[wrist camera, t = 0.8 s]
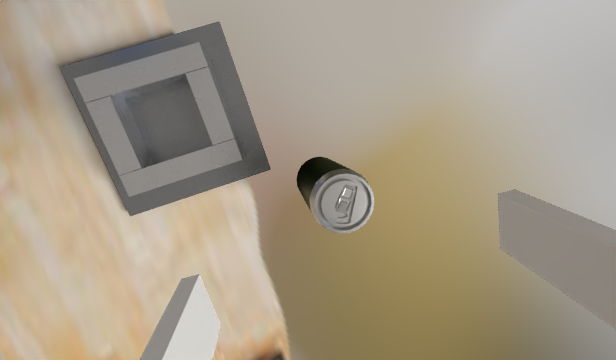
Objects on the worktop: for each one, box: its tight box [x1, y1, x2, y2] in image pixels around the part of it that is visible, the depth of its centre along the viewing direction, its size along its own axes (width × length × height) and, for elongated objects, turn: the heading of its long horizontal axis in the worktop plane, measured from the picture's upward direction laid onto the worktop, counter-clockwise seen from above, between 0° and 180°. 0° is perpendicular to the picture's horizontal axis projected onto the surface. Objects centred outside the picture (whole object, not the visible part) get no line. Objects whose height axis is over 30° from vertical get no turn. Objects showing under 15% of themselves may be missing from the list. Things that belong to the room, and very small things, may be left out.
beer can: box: [297, 157, 374, 233], centre depth 29 cm, size 5×5×12 cm
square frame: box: [60, 22, 270, 216], centre depth 29 cm, size 16×16×4 cm
